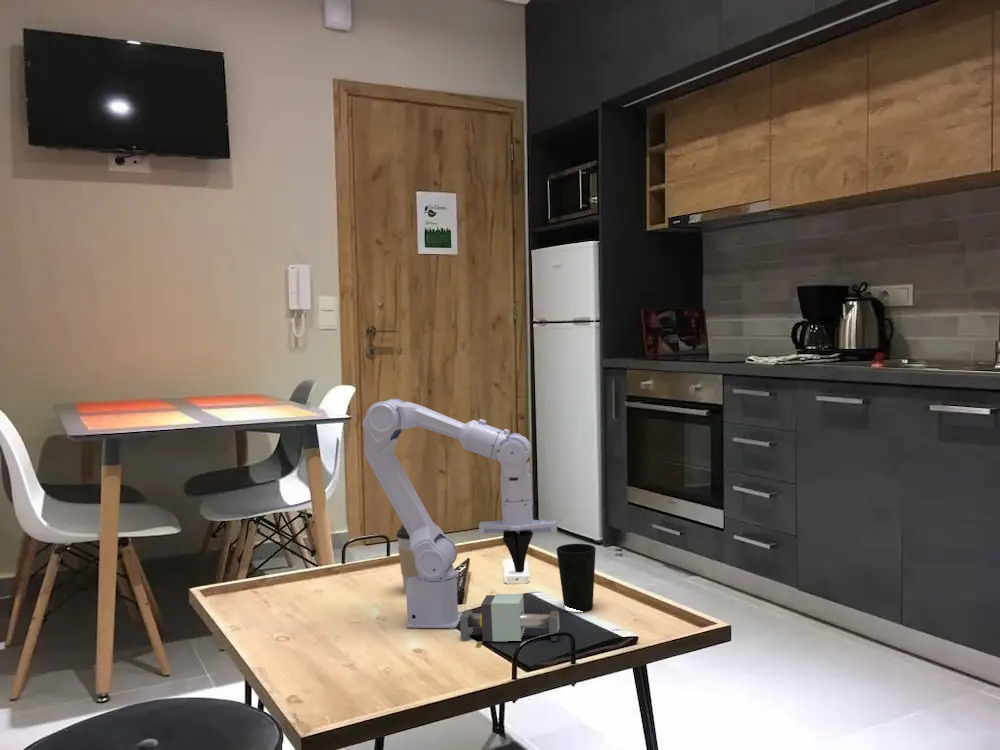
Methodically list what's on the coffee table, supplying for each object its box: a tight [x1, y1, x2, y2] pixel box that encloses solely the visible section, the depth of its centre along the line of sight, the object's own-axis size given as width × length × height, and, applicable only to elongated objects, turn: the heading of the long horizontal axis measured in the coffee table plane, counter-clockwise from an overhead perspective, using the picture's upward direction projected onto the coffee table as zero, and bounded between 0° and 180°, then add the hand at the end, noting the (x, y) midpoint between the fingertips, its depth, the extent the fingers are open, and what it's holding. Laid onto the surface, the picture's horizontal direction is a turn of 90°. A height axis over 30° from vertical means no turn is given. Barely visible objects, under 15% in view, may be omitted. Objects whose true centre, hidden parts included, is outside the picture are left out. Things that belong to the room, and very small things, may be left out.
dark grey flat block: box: [480, 594, 496, 642], centre depth 156 cm, size 2×6×7 cm, turn 171°
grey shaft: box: [459, 609, 561, 648], centre depth 154 cm, size 17×7×4 cm, turn 81°
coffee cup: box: [396, 524, 419, 594], centre depth 187 cm, size 9×9×15 cm
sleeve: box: [491, 593, 526, 642], centre depth 156 cm, size 5×6×7 cm
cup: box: [556, 543, 597, 613], centre depth 170 cm, size 8×8×12 cm
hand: (519, 570), depth 163 cm, fingers closed
